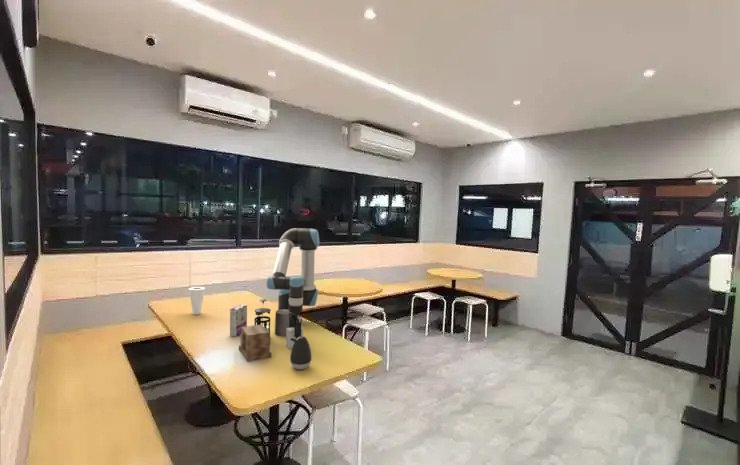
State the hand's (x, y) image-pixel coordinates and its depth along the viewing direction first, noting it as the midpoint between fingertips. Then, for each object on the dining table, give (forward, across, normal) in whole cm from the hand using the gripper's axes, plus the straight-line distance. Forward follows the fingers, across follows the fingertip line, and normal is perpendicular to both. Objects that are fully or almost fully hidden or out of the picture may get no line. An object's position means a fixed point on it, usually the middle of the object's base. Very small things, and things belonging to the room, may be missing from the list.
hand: (294, 345), depth 197 cm
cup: (+1, -88, -38) cm, 96 cm away
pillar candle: (+1, -23, +2) cm, 23 cm away
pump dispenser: (+1, +27, -7) cm, 28 cm away
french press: (+1, -20, -12) cm, 24 cm away
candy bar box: (+1, -34, -22) cm, 41 cm away
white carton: (0, 0, 0) cm, 0 cm away
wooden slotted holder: (0, 0, -21) cm, 21 cm away
